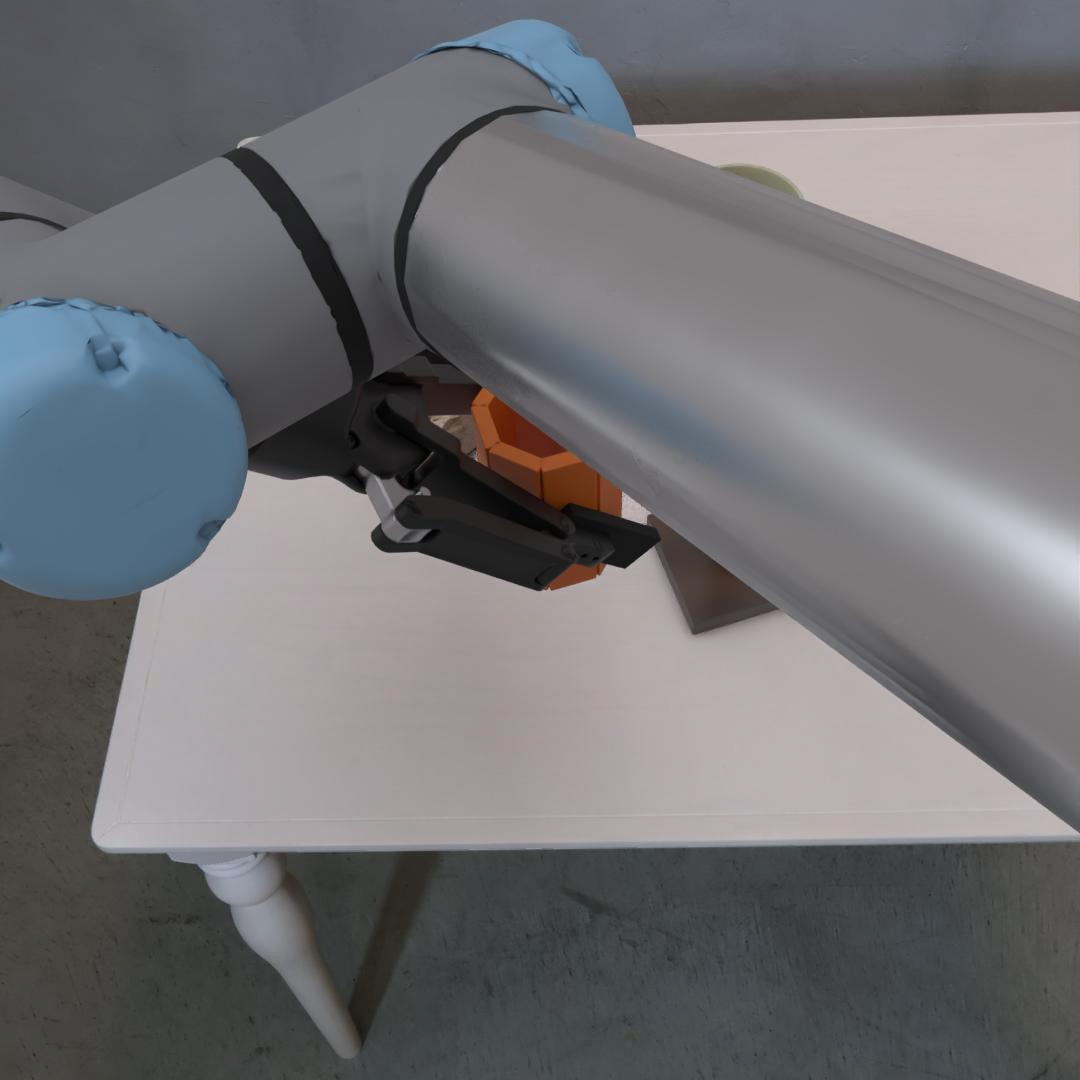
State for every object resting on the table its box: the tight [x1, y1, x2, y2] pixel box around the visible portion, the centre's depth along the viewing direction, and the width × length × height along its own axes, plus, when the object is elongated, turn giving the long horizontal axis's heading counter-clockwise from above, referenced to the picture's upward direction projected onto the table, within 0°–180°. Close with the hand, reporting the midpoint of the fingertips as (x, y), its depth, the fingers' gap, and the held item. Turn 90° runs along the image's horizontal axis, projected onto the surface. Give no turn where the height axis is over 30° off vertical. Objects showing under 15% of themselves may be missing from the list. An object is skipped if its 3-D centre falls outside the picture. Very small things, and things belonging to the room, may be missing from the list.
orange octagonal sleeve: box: [471, 388, 623, 592], centre depth 57 cm, size 7×7×11 cm
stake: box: [646, 513, 780, 635], centre depth 71 cm, size 9×9×15 cm
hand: (616, 491), depth 60 cm, fingers closed on orange octagonal sleeve, 7 cm apart
